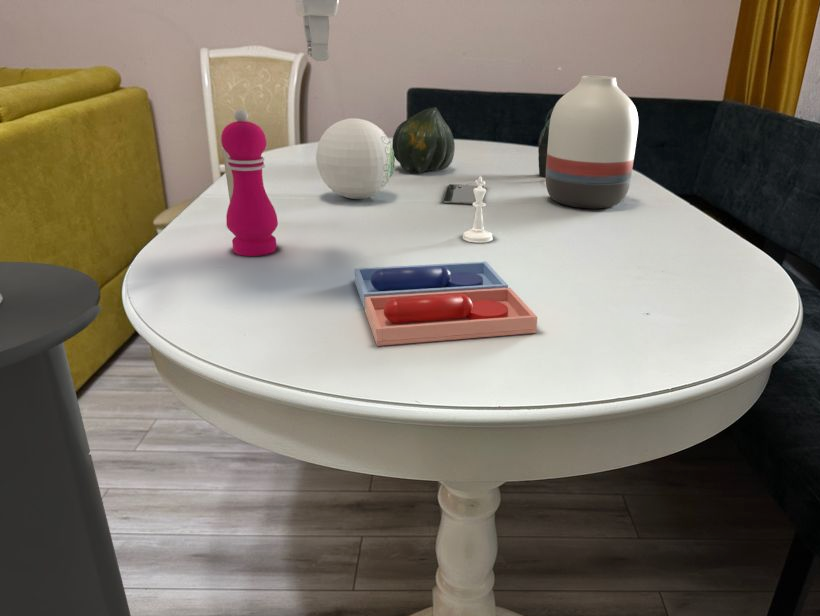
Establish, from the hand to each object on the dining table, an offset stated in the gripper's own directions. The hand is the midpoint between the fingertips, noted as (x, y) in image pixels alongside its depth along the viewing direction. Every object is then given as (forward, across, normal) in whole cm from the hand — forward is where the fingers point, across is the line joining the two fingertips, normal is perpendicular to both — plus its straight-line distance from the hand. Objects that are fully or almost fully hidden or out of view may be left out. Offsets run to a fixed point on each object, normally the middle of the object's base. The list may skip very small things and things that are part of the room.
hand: (317, 58), depth 82 cm
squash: (+27, -70, +28) cm, 80 cm away
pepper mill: (+27, -11, -10) cm, 31 cm away
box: (+27, -26, -11) cm, 39 cm away
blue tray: (+27, +10, +12) cm, 31 cm away
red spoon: (+27, +21, +12) cm, 36 cm away
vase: (+27, -34, +54) cm, 69 cm away
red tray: (+27, +21, +12) cm, 36 cm away
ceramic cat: (+27, -58, +63) cm, 90 cm away
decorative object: (+27, -43, +9) cm, 52 cm away
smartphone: (+27, -43, +31) cm, 60 cm away
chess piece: (+27, -12, +25) cm, 39 cm away
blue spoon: (+27, +10, +12) cm, 31 cm away
